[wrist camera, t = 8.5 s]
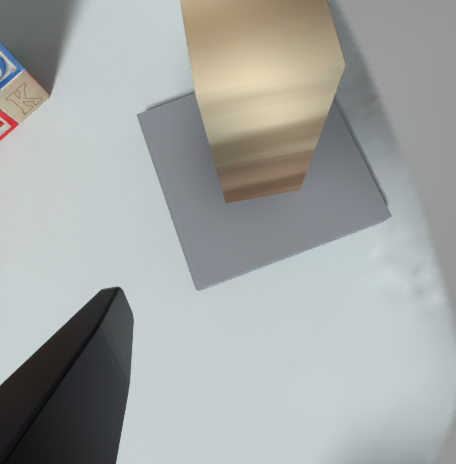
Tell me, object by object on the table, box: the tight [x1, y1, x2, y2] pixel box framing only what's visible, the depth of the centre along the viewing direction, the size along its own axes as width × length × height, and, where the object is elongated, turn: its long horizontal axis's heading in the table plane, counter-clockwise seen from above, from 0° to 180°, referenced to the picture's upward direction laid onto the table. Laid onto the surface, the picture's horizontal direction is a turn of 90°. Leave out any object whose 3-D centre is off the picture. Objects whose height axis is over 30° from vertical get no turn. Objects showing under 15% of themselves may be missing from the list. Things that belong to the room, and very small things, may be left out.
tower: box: [180, 0, 346, 203], centre depth 16 cm, size 4×4×11 cm
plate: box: [137, 93, 391, 291], centre depth 22 cm, size 12×12×1 cm
